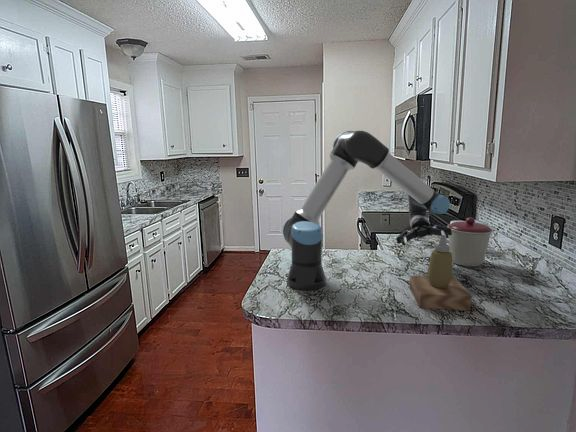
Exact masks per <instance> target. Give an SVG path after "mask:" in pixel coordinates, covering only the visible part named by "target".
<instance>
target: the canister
mask: <svg viewBox="0 0 576 432" xmlns="http://www.w3.org/2000/svg"><path fill="white" fill-rule="evenodd" d="M465 221H466V222H454V223H451V224H450V223H449V224H447V226H446V227H448V228H451V231H452V235H448V246H450V251H449V252H451V253H452V263H454V264H456V265H459V266H461V267H462V266H463V267H471V268H472V267H480V266H482V264H483V263H484V260H485V259H486V255H487V250H488V247H489V242H490V239H491V234H492V233H493V232H494V230H493V228H492V227H490V226H488V225H487V224H484V223H480V222H476V220H475V218H474V217H467V218H466V219H465Z"/></svg>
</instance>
